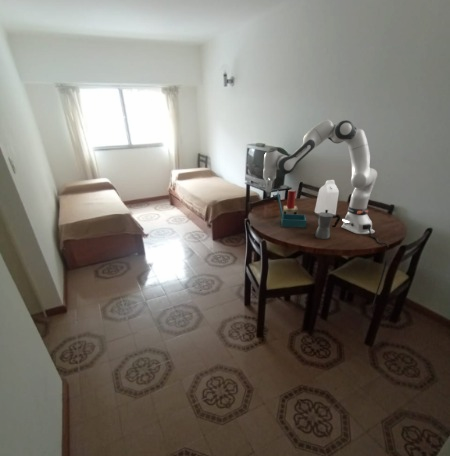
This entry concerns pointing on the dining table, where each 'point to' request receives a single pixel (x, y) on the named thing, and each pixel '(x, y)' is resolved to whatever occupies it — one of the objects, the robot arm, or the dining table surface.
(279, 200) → the lid
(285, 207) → the stool
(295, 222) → the teal open box
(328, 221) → the coffeepot
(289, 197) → the can
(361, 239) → the dining table surface
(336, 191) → the milk
